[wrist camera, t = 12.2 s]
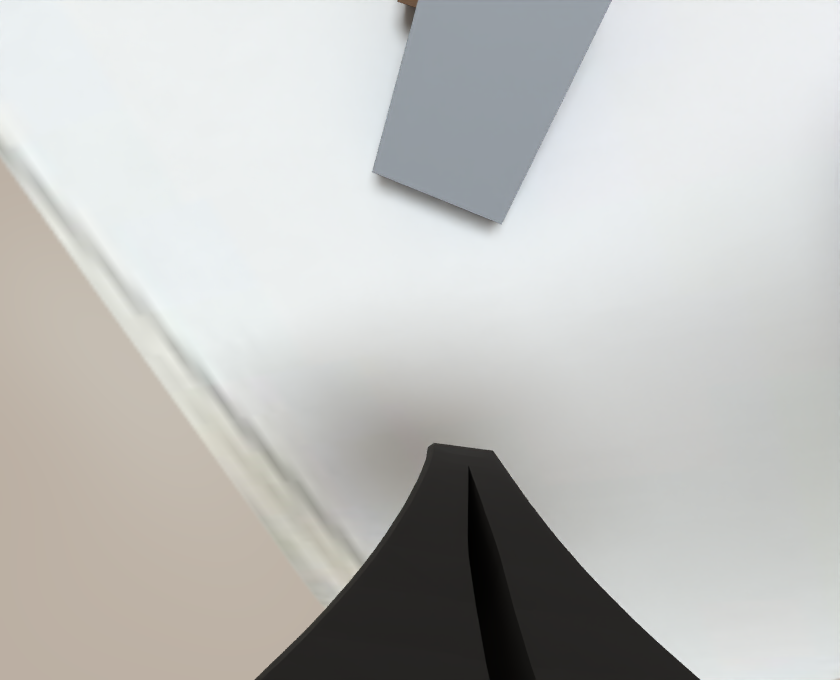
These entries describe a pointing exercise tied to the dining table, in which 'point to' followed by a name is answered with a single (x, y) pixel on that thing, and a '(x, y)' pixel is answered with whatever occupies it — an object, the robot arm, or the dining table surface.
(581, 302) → the dining table surface
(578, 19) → the domino
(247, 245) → the dining table surface
